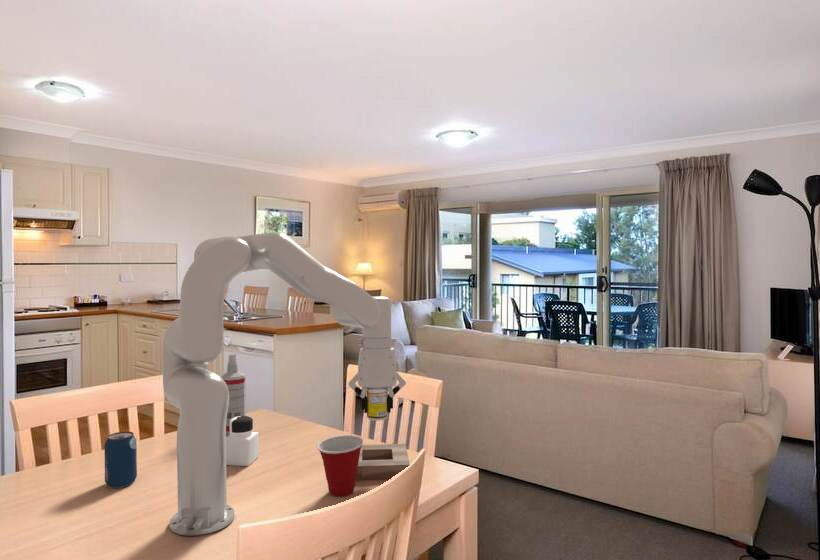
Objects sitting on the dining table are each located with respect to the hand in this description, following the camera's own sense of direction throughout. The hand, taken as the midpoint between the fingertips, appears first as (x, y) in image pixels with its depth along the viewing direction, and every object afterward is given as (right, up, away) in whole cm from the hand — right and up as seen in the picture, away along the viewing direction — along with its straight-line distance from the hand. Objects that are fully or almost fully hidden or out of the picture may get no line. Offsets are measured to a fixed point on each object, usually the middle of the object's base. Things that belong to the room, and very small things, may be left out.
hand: (377, 410), depth 141 cm
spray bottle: (-49, -15, +32) cm, 60 cm away
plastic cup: (-8, -16, -15) cm, 23 cm away
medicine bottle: (-38, -15, +5) cm, 41 cm away
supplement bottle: (0, -2, 0) cm, 2 cm away
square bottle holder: (0, -15, 0) cm, 15 cm away
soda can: (-62, -16, -10) cm, 65 cm away
